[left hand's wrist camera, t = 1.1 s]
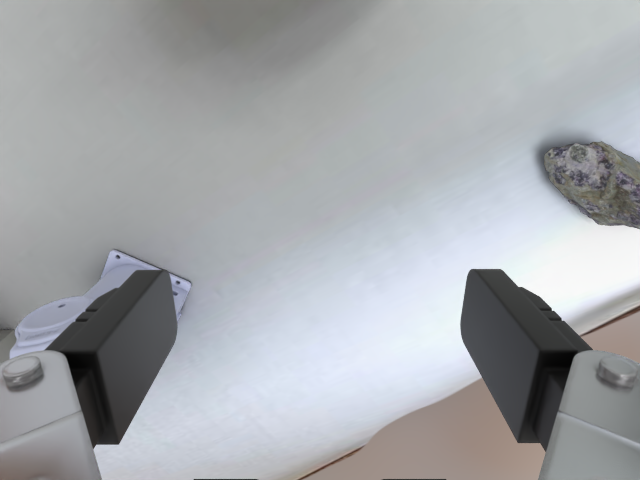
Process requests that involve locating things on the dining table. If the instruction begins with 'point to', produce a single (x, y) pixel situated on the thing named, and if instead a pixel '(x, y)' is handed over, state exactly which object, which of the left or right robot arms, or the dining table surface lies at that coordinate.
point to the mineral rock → (597, 181)
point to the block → (6, 344)
